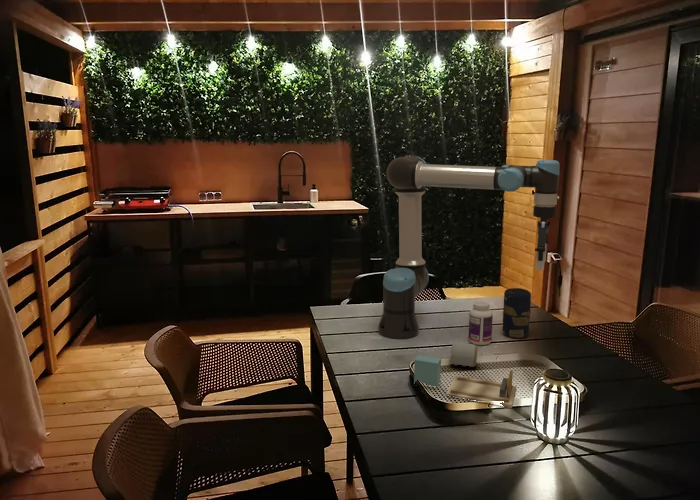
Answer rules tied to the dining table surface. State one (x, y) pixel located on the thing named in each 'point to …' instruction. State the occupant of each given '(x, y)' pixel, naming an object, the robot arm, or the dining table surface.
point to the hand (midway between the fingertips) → (540, 265)
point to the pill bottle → (480, 323)
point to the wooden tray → (483, 390)
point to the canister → (516, 312)
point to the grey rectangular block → (464, 354)
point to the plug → (427, 370)
